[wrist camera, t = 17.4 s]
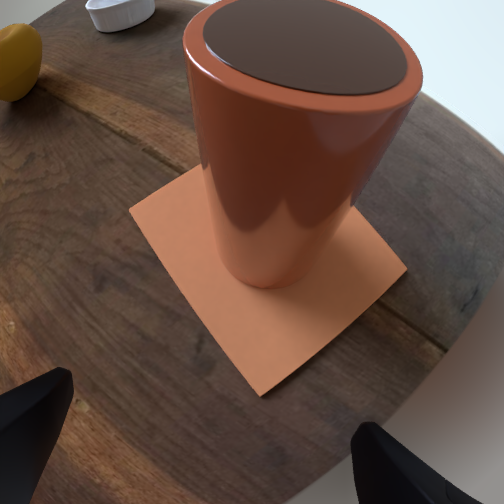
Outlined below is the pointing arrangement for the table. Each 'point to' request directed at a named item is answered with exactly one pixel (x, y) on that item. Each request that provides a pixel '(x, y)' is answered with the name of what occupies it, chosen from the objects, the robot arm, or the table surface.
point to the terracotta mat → (265, 300)
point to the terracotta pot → (291, 124)
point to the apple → (19, 60)
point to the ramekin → (119, 13)
